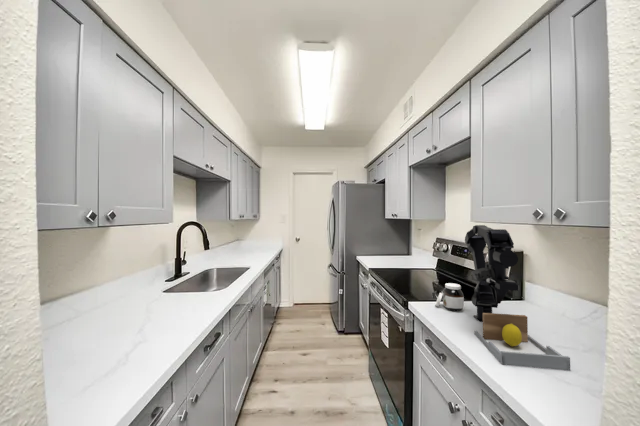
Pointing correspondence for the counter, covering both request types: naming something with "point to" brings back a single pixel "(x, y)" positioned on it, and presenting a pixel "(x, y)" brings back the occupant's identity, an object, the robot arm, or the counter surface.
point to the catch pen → (529, 356)
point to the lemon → (511, 335)
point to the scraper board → (497, 321)
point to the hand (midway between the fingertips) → (497, 302)
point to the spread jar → (452, 297)
